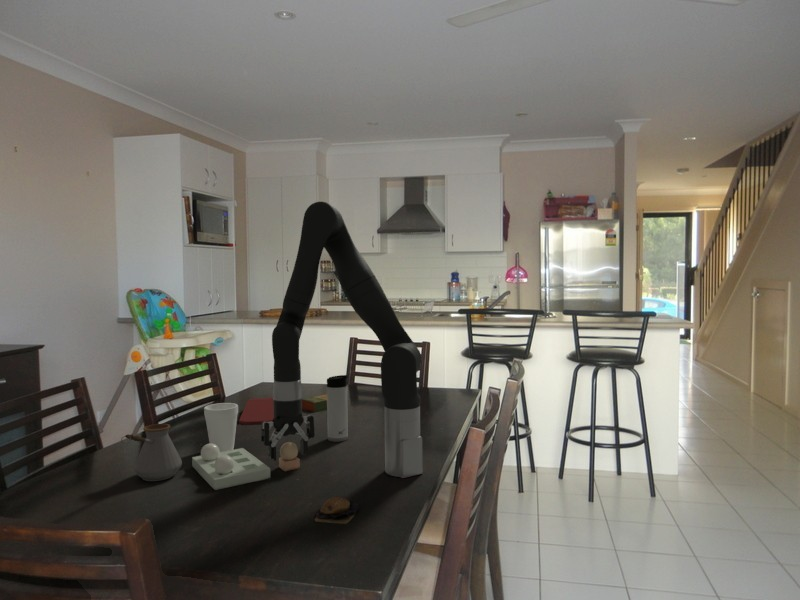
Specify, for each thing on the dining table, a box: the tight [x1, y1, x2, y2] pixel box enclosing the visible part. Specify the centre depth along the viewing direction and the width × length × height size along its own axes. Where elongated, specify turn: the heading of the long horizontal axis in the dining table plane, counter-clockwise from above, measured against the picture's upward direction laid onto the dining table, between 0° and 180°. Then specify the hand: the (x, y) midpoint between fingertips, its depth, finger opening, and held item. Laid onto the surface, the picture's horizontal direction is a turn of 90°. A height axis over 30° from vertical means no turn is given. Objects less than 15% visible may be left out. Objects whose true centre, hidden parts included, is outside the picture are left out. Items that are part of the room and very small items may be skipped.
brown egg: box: [279, 441, 299, 461], centre depth 156 cm, size 5×5×5 cm
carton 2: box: [238, 397, 274, 425], centre depth 214 cm, size 12×5×25 cm
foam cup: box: [203, 402, 239, 452], centre depth 172 cm, size 10×9×13 cm
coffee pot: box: [120, 423, 183, 482], centre depth 146 cm, size 21×12×15 cm, turn 177°
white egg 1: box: [200, 442, 220, 461], centre depth 157 cm, size 5×5×5 cm
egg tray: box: [191, 447, 271, 491], centre depth 153 cm, size 21×14×2 cm, turn 34°
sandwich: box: [314, 496, 360, 525], centre depth 127 cm, size 11×8×4 cm
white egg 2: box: [214, 455, 234, 475], centre depth 146 cm, size 5×5×5 cm
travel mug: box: [326, 374, 349, 443], centre depth 182 cm, size 6×7×20 cm
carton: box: [302, 393, 327, 413], centre depth 226 cm, size 8×16×4 cm, turn 136°
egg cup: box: [278, 456, 301, 472], centre depth 156 cm, size 4×4×2 cm
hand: (288, 457), depth 156 cm, fingers open, 8 cm apart
